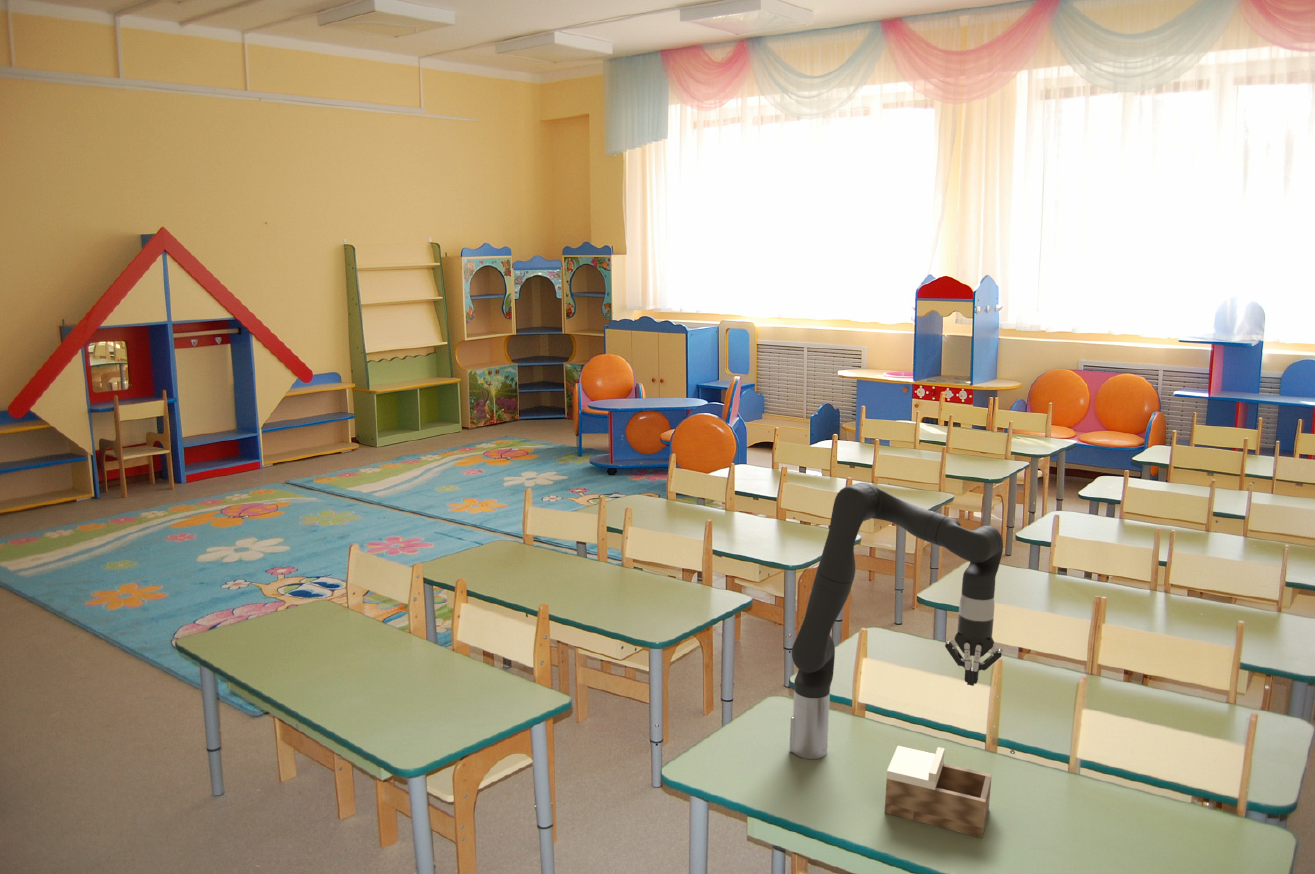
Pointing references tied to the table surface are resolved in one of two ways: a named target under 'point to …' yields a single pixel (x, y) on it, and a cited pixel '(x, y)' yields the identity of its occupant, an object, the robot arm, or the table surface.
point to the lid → (916, 767)
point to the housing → (944, 800)
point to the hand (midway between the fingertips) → (970, 683)
